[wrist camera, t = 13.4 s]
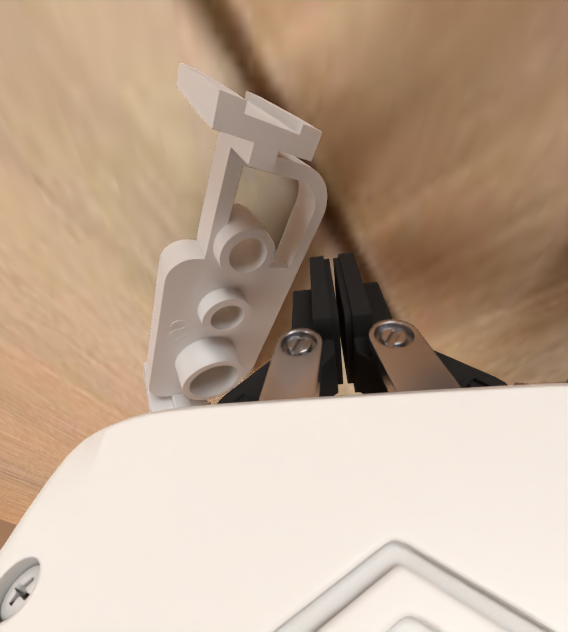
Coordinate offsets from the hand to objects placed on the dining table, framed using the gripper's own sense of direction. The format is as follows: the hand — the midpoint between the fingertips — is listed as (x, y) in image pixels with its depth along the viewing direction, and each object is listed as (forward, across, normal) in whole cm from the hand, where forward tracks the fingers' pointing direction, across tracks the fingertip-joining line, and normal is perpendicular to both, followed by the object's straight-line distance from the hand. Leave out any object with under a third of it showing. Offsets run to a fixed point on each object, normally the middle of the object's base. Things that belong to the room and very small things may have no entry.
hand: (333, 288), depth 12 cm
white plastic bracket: (+3, +5, 0) cm, 6 cm away
